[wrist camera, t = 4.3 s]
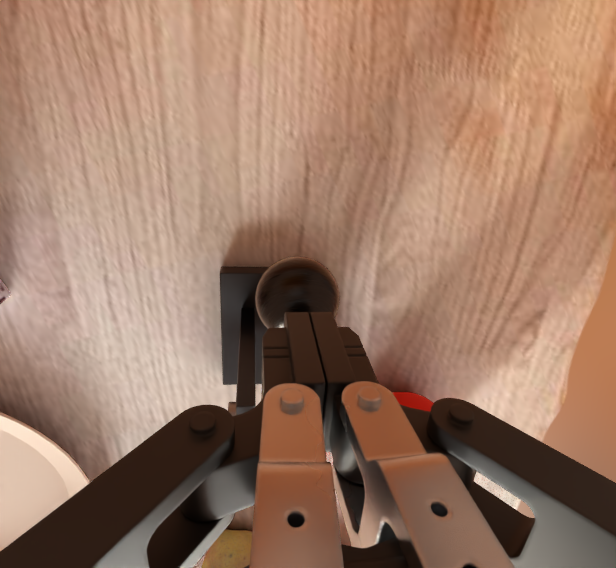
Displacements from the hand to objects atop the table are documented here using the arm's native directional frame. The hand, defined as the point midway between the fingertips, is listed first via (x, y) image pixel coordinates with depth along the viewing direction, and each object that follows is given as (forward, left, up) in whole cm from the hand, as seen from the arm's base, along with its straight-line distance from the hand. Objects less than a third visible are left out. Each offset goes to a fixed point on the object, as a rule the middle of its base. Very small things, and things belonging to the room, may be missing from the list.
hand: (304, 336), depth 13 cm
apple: (+4, +36, -18) cm, 40 cm away
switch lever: (0, +4, -7) cm, 8 cm away
